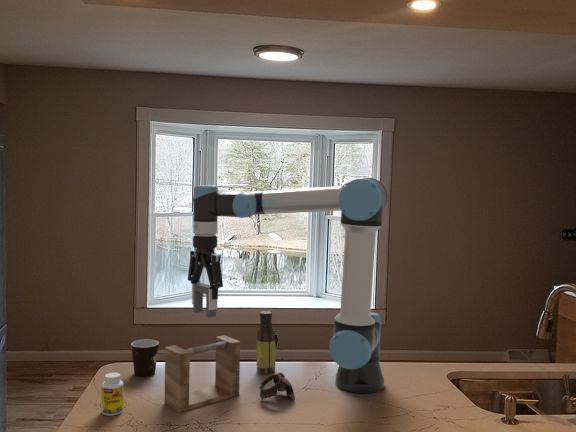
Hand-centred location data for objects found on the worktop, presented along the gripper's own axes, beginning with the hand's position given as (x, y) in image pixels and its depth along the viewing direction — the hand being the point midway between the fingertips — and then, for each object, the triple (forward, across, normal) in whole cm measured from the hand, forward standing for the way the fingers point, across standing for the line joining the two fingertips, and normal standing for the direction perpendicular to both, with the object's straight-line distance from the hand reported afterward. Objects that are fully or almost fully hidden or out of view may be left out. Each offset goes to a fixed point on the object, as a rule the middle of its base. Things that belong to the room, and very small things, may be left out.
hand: (204, 306), depth 177 cm
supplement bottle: (+23, +7, -33) cm, 41 cm away
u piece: (+2, 0, 0) cm, 2 cm away
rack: (+23, +15, -9) cm, 29 cm away
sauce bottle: (+23, +7, +20) cm, 31 cm away
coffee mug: (+23, -14, -14) cm, 31 cm away
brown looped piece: (+24, +26, +8) cm, 36 cm away
